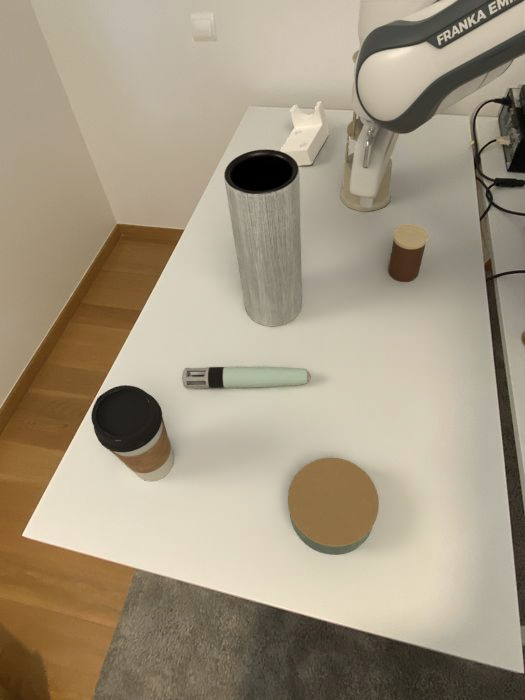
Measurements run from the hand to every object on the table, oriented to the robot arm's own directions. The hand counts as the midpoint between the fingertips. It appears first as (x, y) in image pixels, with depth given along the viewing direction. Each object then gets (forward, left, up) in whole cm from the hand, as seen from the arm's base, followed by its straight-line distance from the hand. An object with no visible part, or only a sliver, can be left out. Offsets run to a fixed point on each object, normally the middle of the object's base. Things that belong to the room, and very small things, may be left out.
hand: (374, 184), depth 75 cm
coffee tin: (-6, +43, -19) cm, 47 cm away
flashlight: (+12, +27, -20) cm, 36 cm away
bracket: (+22, -36, -20) cm, 47 cm away
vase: (+13, +11, -20) cm, 26 cm away
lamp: (+3, -23, -20) cm, 30 cm away
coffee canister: (-7, -3, -19) cm, 21 cm away
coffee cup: (+20, +44, -20) cm, 52 cm away
